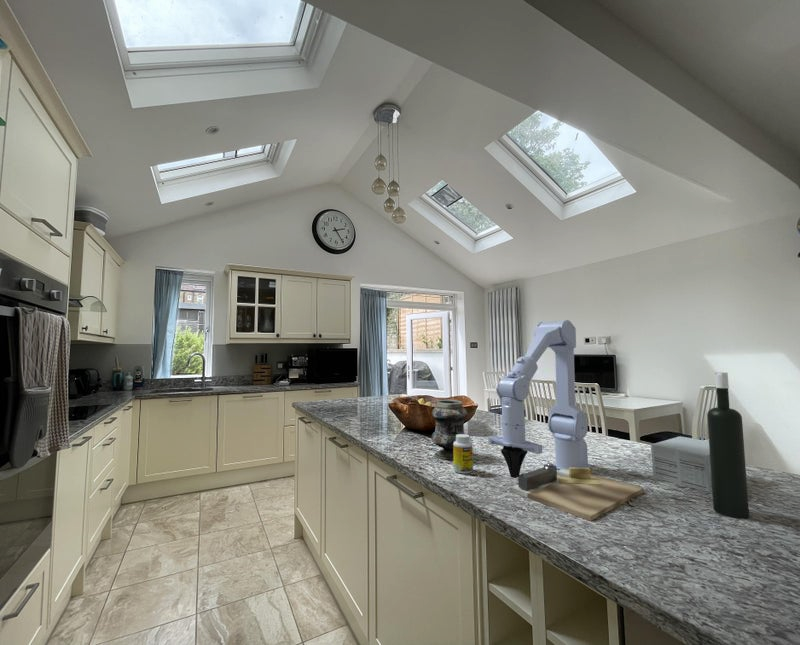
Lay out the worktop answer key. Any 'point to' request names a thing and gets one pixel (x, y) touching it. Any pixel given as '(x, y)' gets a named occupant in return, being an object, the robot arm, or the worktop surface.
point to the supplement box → (683, 462)
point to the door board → (581, 493)
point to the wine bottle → (727, 455)
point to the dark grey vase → (448, 426)
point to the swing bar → (538, 477)
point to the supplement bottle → (463, 454)
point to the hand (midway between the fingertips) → (514, 476)
